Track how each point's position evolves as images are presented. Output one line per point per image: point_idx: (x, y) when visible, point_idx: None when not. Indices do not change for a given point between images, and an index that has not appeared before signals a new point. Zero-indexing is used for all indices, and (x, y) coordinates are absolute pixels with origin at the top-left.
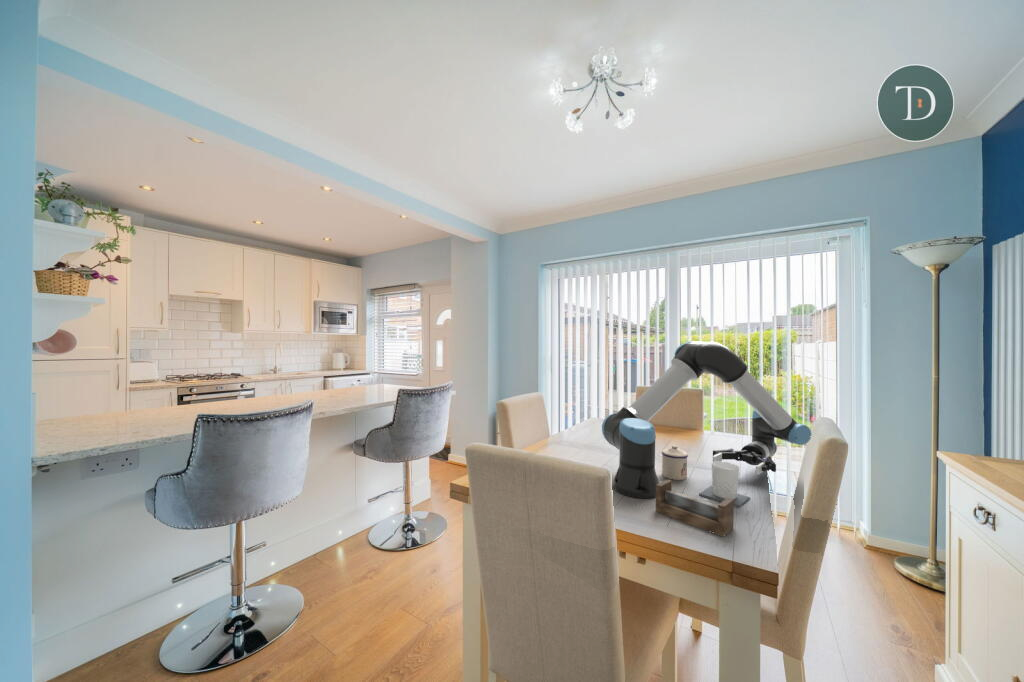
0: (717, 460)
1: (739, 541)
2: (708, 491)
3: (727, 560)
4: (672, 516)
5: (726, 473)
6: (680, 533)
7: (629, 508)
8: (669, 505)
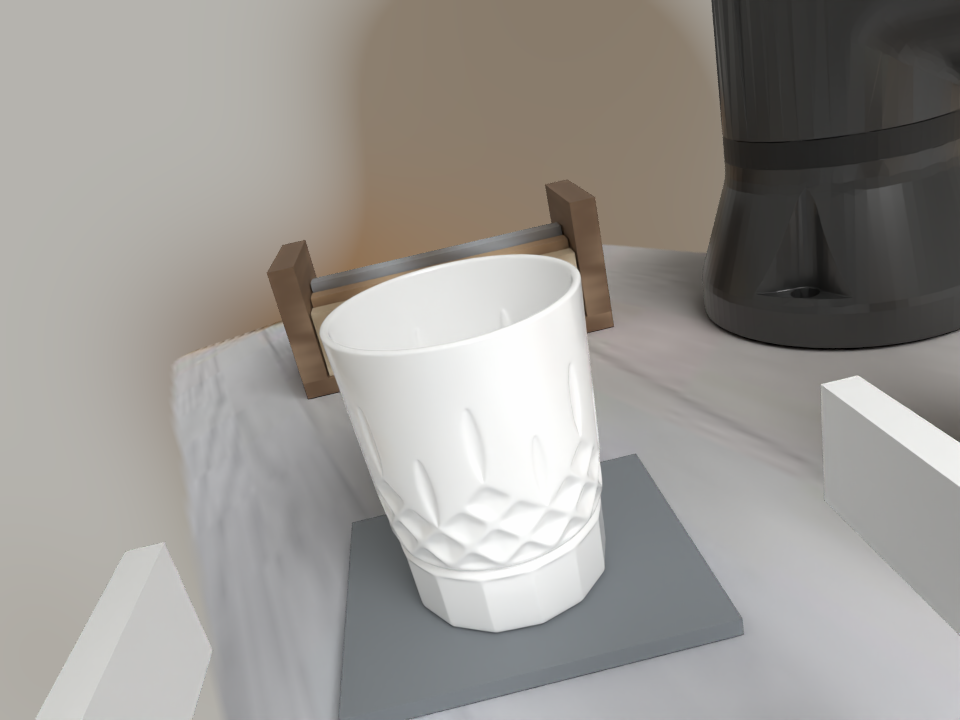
0: (897, 531)
1: (266, 373)
2: (633, 516)
3: (273, 323)
4: None
5: (405, 319)
6: None
7: (650, 259)
8: None
